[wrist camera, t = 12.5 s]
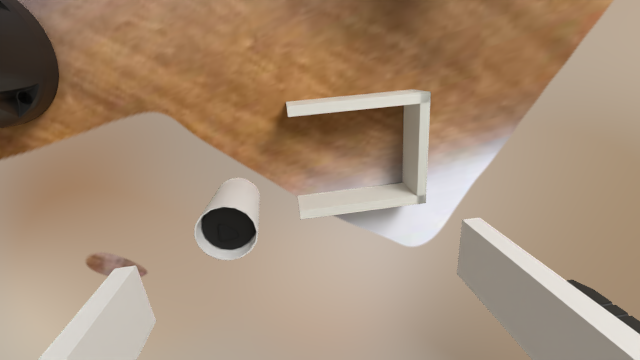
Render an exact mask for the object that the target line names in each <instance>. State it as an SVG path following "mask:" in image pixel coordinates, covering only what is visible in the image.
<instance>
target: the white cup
mask: <svg viewBox="0 0 640 360" xmlns="http://www.w3.org/2000/svg"><path fill="white" fill-rule="evenodd" d="M259 206H260V194H259V191H258V189H257V187H256V186H255V185H254V184H253V183H252V182H250V181H248V180H247V179H243V178H233V179H229V180H227V181H226V182H224V183H223V184H222V185H221V186H220V188H219V189H218V191H217V192H216V194H215V195H214V197H213V198H212V200H211V201H210V203H209V204H208V205H207V207H206V208H205V210H204V211H203V213H202V215H201V216H200V218H199V219H198V221H197V223H196V224H195V231H194V237H195V239H196V241H197V244H198V246H199V247H200V248H201V249H202V250H203V251H204V252H205V253H206V254H207V255H209V256H211V257H214V258H216V259H220V260H233V259H237V258H242V257H243V256H244V255H246V254H247V253H249V252H250V251H251V250H252V249H253V247H254V245H255V244H256V243H257V236H258V225H259Z"/></svg>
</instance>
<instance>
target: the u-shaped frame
mask: <svg viewBox="0 0 640 360" xmlns="http://www.w3.org/2000/svg"><path fill="white" fill-rule="evenodd" d="M430 97H431V92H428V91H421V90H403V91H392V92H382V93H372V94H362V95H351V96H341V97H331V98H321V99H311V100H300V101H290V102H286V106H287V114H288V117H293V116H302V115H312V114H322V113H332V112H342V111H351V110H361V109H371V108H381V107H390V106H400V105H404V119H403V183H395V184H387V185H379V186H371V187H363V188H355V189H347V190H339V191H331V192H323V193H316V194H308V195H300V196H297V198H298V206H299V213H300V219H309V218H316V217H323V216H331V215H339V214H346V213H354V212H361V211H369V210H376V209H384V208H391V207H399V206H406V205H414V204H421V203H426V183H427V162H428V140H429V118H430Z"/></svg>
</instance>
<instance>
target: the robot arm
mask: <svg viewBox="0 0 640 360" xmlns="http://www.w3.org/2000/svg"><path fill="white" fill-rule="evenodd" d="M58 78H59V73H58V64H57V59H56V55H55V52H54V49H53V47H52V44H51V42H50V40H49V38H48V36H47V34H46V33H45V31H44V30H43V28H42V27H41V25H40V24H39V22H38V21H37V20H36V19H35V17H34V16H33V15H32V14H31V13H30V12H29V11H28V10H27V9H26V8H25V7H24V6H23V5H22V4H21V3H20V2H18V1H17V0H0V128H4V127H9V126H14V125H19V124H23V123H26V122H28V121H31V120H33V119H35V118H36V117H38V116H39V115H40V114H42V113H43V112H44V111H45V110H46V109H47V108H48V106H49V105H50V104H51V102H52V100H53V98H54V96H55V94H56V91H57V87H58ZM458 259H459V260H458V269H457V274H458V275H459V277H460V278H461V279H462V280H463V281H464V282H465V284H466V285H467V286H468V287H469V288H470V289H471V290H472V292H473V293H474V294H475V295H476V296H477V297H478V298H479V300H480V301H481V302H482V303H483V304H484V305H485V306H486V308H487V309H488V310H489V311H490V312H491V313H492V314H493V315H494V317H495V318H496V319H497V320H498V321H499V322H500V323H501V325H502V326H503V327H504V328H505V329H506V330H507V331H508V333H509V334H510V335H511V336H512V337H513V338H514V339H515V340H516V342H517V343H518V344H519V345H520V346H521V347H522V349H523V350H524V351H525V352H526V353H527V354H528V355H529V357H530V358H531V359H532V360H640V321H638V320H637V319H635V318H634V317H633V316H629V315H628V313H627V312H625V311H624V310H622V309H621V308H619V307H618V306H617V305H613V304H612V302H611V301H609V300H608V299H606V298H605V297H604V296H602V295H601V294H599V293H598V292H596V291H595V290H593V289H591V288H589V287H587V286H585V285H582V284H580V283H578V282H576V281H574V280H567V281H566V280H564V279H563V278H562V277H560V276H559V275H558V274H556V273H555V272H554V271H552V270H551V269H549V268H548V267H546V266H545V265H544V264H543V263H541V262H540V261H538V260H537V259H535V258H534V257H533V256H532V255H530V254H529V253H527V252H526V251H525V250H523V249H522V248H521V247H519V246H518V245H516V244H515V243H514V242H512V241H511V240H510V239H508V238H507V237H505V236H504V235H503V234H501V233H500V232H499V231H497V230H496V229H494V228H493V227H492V226H490V225H489V224H488V223H486V222H484V221H483V220H482V219H481V218H473V219H465V220H462V227H461V238H460V248H459V258H458ZM155 322H156V319H155V317H154V314H153V311H152V308H151V306H150V303H149V300H148V297H147V295H146V292H145V289H144V286H143V284H142V281H141V278H140V275H139V272H138V270H137V267H136V266H130V267H123V268H115V269H114V270H113V271H112V273H111V274H110V275H109V276H108V277H107V279H106V280H105V281H104V282H103V283H102V284H101V286H100V287H99V288H98V289H97V290H96V292H95V293H94V294H93V295H92V296H91V298H90V299H89V300H88V301H87V302H86V303H85V305H84V306H83V307H82V308H81V310H80V311H79V312H78V313H77V314H76V315H75V317H74V318H73V319H72V320H71V321H70V323H69V324H68V325H67V326H66V327H65V328H64V329H63V331H62V332H61V333H60V334H59V335H58V337H57V338H56V339H55V340H54V342H52V344H51V345H50V346H49V347H48V348H47V350H46V351H45V352H44V353H43V354H42V355H41V357H40V358H39V359H38V360H137V358H138V356H139V354H140V352H141V350H142V348H143V346H144V344H145V342H146V340H147V338H148V336H149V334H150V332H151V330H152V328H153V326H154V324H155Z"/></svg>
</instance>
